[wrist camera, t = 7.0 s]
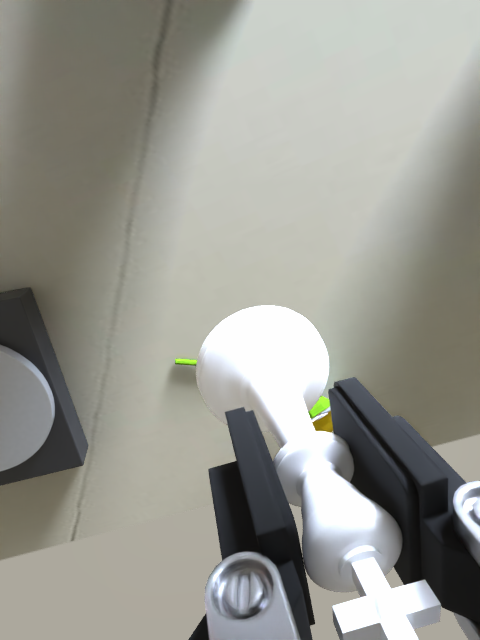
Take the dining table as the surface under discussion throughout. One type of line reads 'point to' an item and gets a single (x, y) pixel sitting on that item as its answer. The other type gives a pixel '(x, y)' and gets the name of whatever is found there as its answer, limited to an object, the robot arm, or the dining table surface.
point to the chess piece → (314, 468)
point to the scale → (33, 397)
